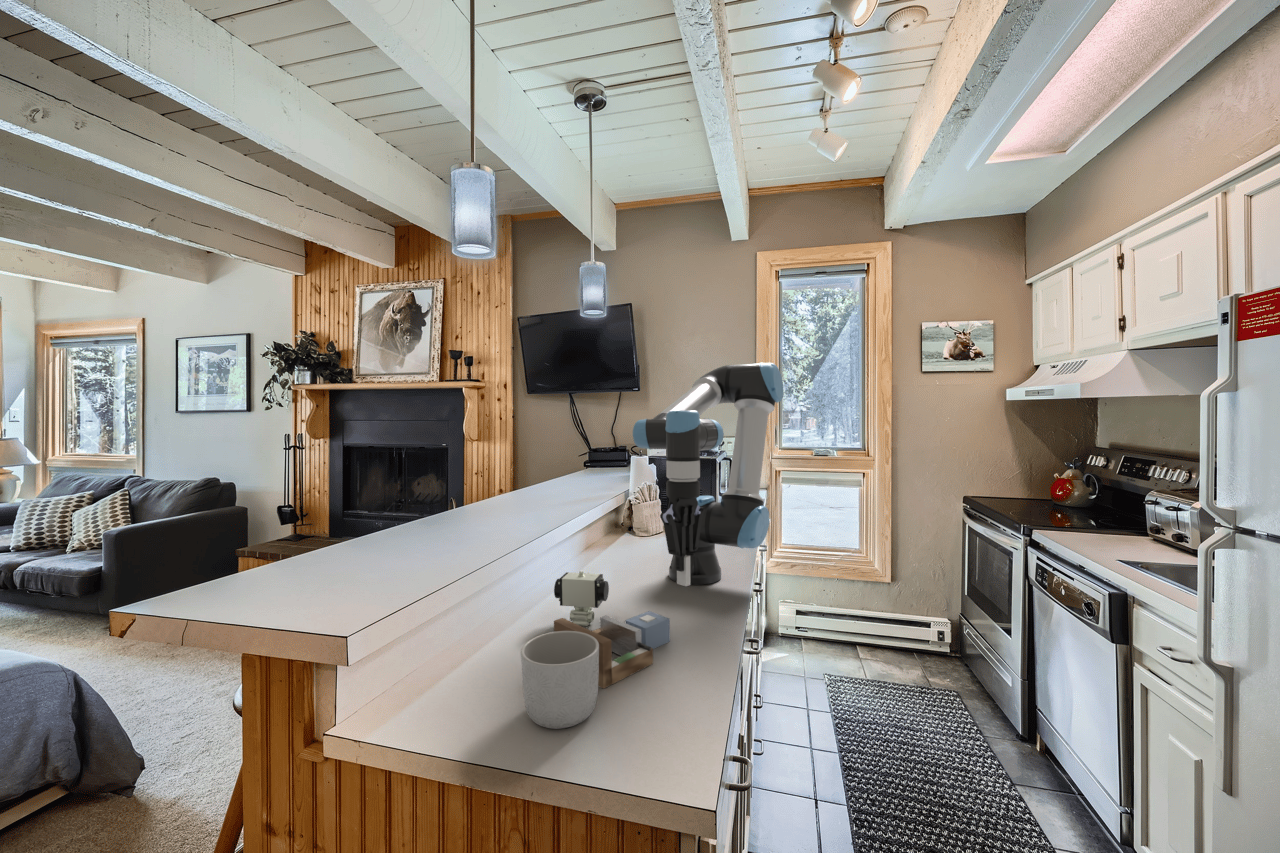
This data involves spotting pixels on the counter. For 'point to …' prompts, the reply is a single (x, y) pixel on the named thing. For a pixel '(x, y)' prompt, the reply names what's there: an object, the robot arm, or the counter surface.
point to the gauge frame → (610, 656)
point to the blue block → (652, 628)
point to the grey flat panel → (621, 636)
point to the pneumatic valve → (581, 594)
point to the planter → (560, 678)
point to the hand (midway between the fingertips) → (683, 584)
